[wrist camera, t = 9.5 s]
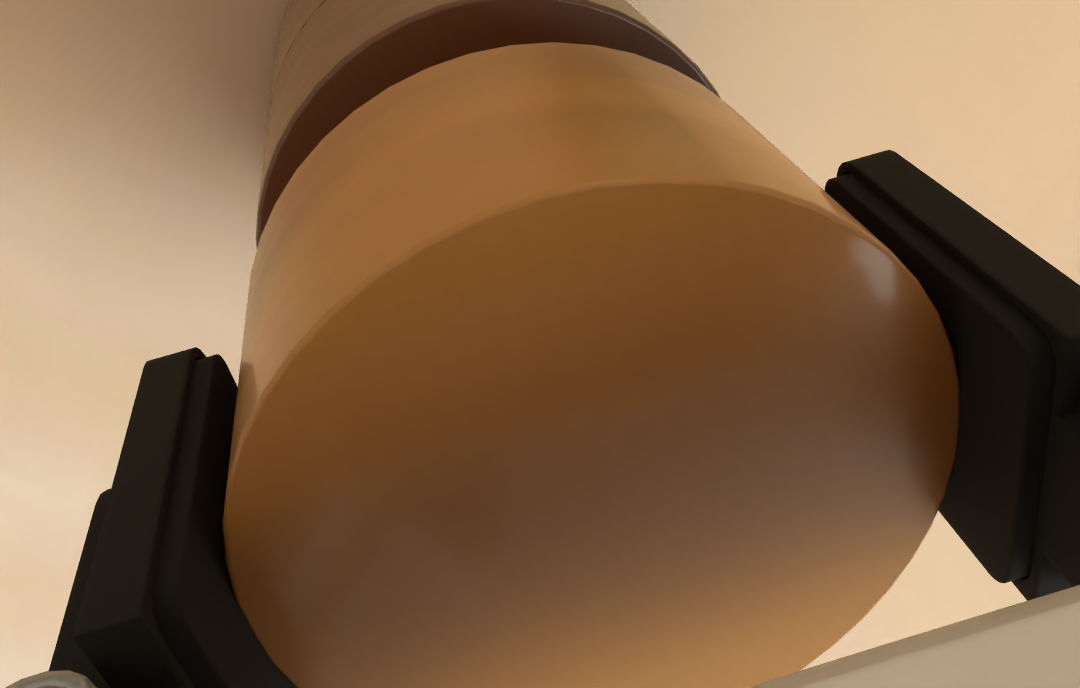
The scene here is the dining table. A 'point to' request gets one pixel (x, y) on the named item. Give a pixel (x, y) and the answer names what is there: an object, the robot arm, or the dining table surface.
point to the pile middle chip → (422, 59)
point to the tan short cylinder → (573, 392)
